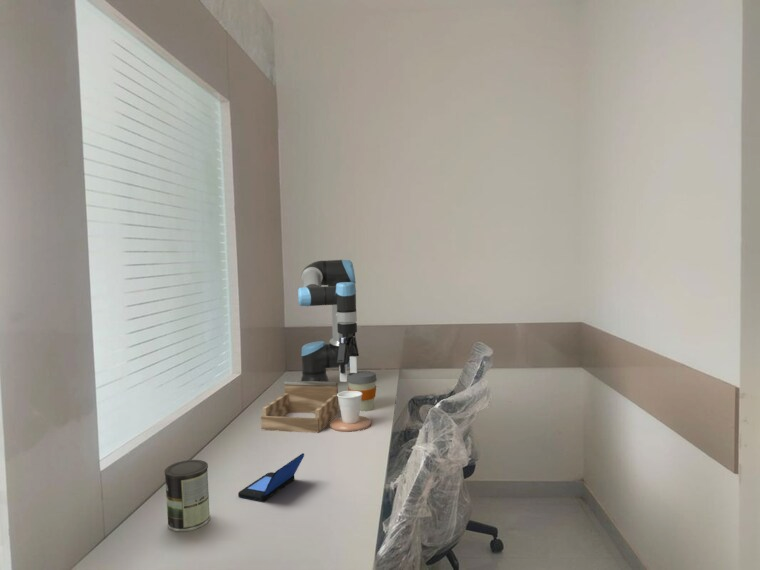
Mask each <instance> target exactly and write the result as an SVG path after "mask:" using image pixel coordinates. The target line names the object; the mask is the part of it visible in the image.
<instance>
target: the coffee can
mask: <svg viewBox="0 0 760 570" xmlns="http://www.w3.org/2000/svg"><path fill="white" fill-rule="evenodd" d="M208 468H209V465H208V462H207V461H205V460H201V459H186V460H182V461H177V462H174V463H173V464H170V465H169V466H167V467H166V468H165V469H164V476H165V478H164V479H165V480H164V481H165V493H166V495H165V496H166V509H167V510H166V512H167V528H168V529H169V530H171V531H174V532H181V533H182V532H183V533H184V532H189V531H190V532H191V531H194V530H196V529H199V528H202V527H203V526H205V525H207V524H208V523H209V521H210V520H211V515H210V514H211V512H210V497H209V496H210V495H209V472H208Z"/></svg>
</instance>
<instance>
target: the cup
mask: <svg viewBox="0 0 760 570" xmlns="http://www.w3.org/2000/svg"><path fill="white" fill-rule="evenodd" d="M337 396H338V406H339V409H340V415H341V417H342V421H343V422H344V423H345V424H354V423H357V422H358V420H359V416H360V405H361V397H362V392H359V391H348V390H343V391H340V392H338V394H337Z"/></svg>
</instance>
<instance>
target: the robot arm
mask: <svg viewBox="0 0 760 570" xmlns="http://www.w3.org/2000/svg"><path fill="white" fill-rule="evenodd" d="M353 264H354V263H353V262H352V261H351V260H350V259H334V260H333V259H330V260H317V261H314V262H312V263H310V264H307V265H306V266H305V267H304V269H303V270H302V272H301V275H300V276H301V282H302V284H303V285H302V287H299V288H298V290H297V294H298V295H297V296H298V305H299V306H300V307H317V306H331V325H332V326H331V327H332V329H331V330H332V331H331V333H332V338H330V340H329V344H328V343H327V344H326V342H325V341H323V340H321V341H312V342H309V343H306V344H303V346H302V347H301V353H300V354H301V371H302V372H301V373H302V376H301V379H300V381H316V382H330V380H329V378H328V375H327V374H328V373H327V369H333V368H334V369H335V368H337V369H338V368H339V382H343V383H344V382H345V383H346V382H347V378H348V367H349V373H357V371H358V358H357V357H359V356H360V354H359V348H358V344H357V338H356V333H357V332H358V323H357V320H358V317H357V315H358V314H357V313H358V312H357V290H356V289H357V287H356V275H355V269H354V266H353ZM347 383H348V382H347Z"/></svg>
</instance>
